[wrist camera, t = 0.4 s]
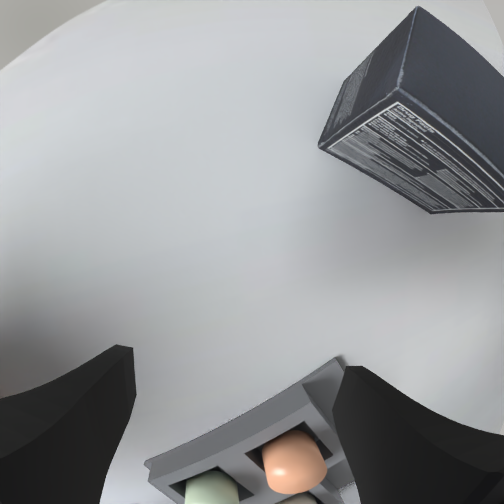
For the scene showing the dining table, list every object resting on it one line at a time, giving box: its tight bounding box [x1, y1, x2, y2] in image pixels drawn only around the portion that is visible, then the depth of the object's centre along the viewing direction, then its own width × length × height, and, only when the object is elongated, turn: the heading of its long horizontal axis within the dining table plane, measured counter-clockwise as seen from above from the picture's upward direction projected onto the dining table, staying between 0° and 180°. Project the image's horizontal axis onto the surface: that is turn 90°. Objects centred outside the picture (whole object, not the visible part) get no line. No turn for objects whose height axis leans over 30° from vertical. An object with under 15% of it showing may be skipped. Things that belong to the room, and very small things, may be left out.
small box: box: [318, 6, 504, 214], centre depth 15 cm, size 11×6×10 cm, turn 67°
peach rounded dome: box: [262, 430, 327, 494], centre depth 18 cm, size 4×4×3 cm
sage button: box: [185, 471, 239, 504], centre depth 18 cm, size 4×4×3 cm
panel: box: [144, 358, 355, 504], centre depth 20 cm, size 18×14×3 cm
